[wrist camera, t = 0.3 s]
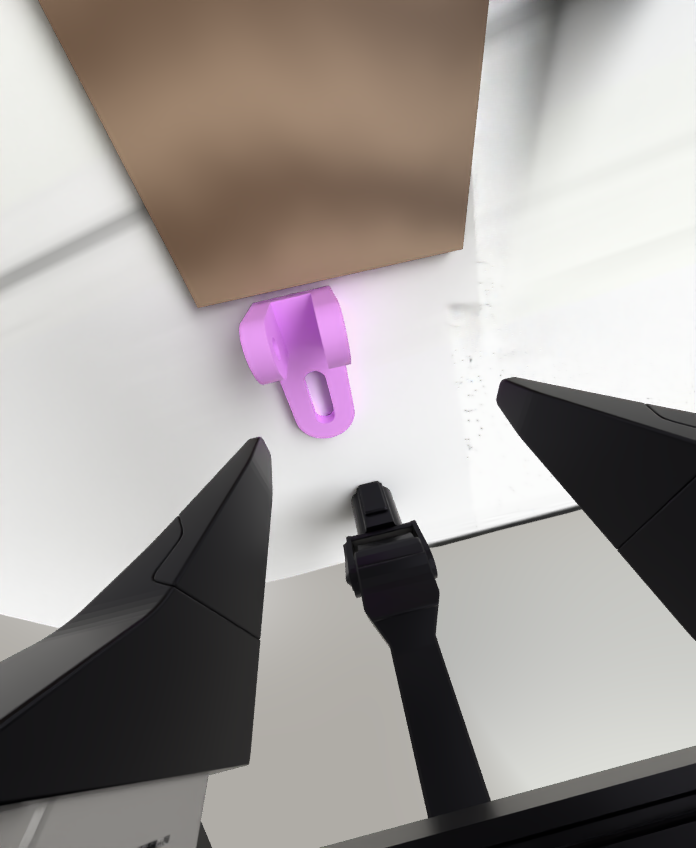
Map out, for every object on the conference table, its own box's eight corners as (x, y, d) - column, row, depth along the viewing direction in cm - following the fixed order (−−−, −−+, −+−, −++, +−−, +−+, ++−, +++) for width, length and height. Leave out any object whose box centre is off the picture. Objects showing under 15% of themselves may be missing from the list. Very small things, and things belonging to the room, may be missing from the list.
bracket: (253, 302, 18) (233, 334, 12) (328, 285, 18) (342, 308, 12) (304, 434, 26) (306, 488, 20) (355, 422, 26) (371, 472, 21)
